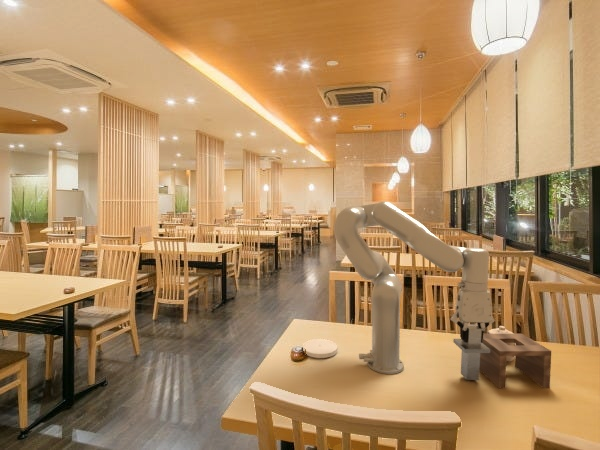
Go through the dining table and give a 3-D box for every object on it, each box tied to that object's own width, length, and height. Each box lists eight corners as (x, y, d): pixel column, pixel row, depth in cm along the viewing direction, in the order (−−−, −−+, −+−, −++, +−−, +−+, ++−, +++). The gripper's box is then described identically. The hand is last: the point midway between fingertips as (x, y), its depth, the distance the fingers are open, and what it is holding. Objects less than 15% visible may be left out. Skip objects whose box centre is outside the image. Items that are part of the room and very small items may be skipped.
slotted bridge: (498, 388, 106) (500, 351, 105) (475, 366, 120) (476, 333, 119) (549, 388, 106) (551, 351, 105) (520, 366, 120) (521, 333, 119)
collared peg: (463, 383, 107) (465, 331, 106) (452, 370, 115) (454, 322, 114) (488, 383, 107) (491, 331, 106) (475, 370, 115) (477, 322, 114)
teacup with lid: (518, 363, 122) (520, 332, 121) (490, 360, 124) (491, 329, 123) (508, 349, 133) (509, 321, 132) (483, 347, 136) (483, 318, 135)
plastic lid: (336, 361, 125) (336, 355, 124) (299, 359, 127) (299, 352, 127) (338, 345, 138) (338, 339, 138) (305, 343, 141) (305, 337, 141)
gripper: (453, 289, 105) (451, 345, 106) (507, 289, 105) (503, 346, 106) (443, 283, 112) (441, 336, 114) (493, 283, 112) (490, 336, 114)
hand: (471, 340), depth 110 cm, fingers closed on collared peg, 4 cm apart
